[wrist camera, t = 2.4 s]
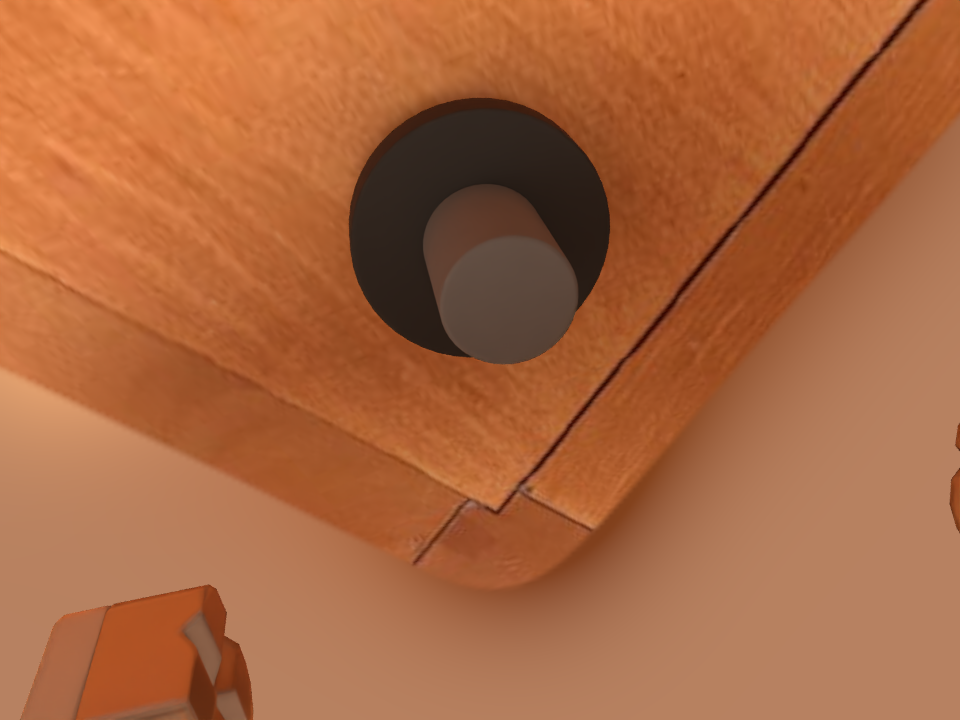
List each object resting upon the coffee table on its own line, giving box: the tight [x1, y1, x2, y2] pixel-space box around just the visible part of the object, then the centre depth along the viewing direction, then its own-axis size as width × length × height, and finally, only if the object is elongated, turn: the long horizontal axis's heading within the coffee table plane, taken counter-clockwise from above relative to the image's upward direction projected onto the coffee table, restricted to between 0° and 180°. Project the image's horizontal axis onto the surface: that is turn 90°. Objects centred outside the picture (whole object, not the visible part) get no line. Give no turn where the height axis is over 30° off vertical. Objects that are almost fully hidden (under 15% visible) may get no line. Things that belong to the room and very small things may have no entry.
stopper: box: [349, 98, 610, 364], centre depth 18 cm, size 5×5×6 cm
